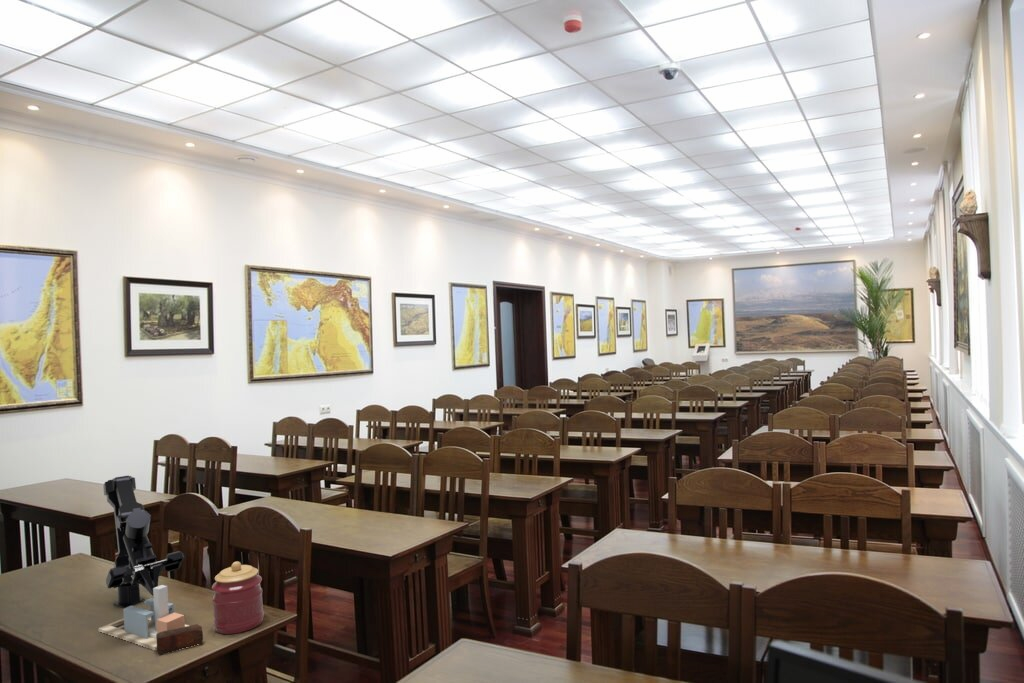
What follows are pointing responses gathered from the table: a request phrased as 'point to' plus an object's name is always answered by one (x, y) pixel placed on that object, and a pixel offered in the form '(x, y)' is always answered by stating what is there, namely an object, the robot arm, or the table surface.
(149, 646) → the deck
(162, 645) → the brick
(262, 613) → the canister
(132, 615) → the light blue blocks
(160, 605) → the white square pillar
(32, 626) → the table surface
